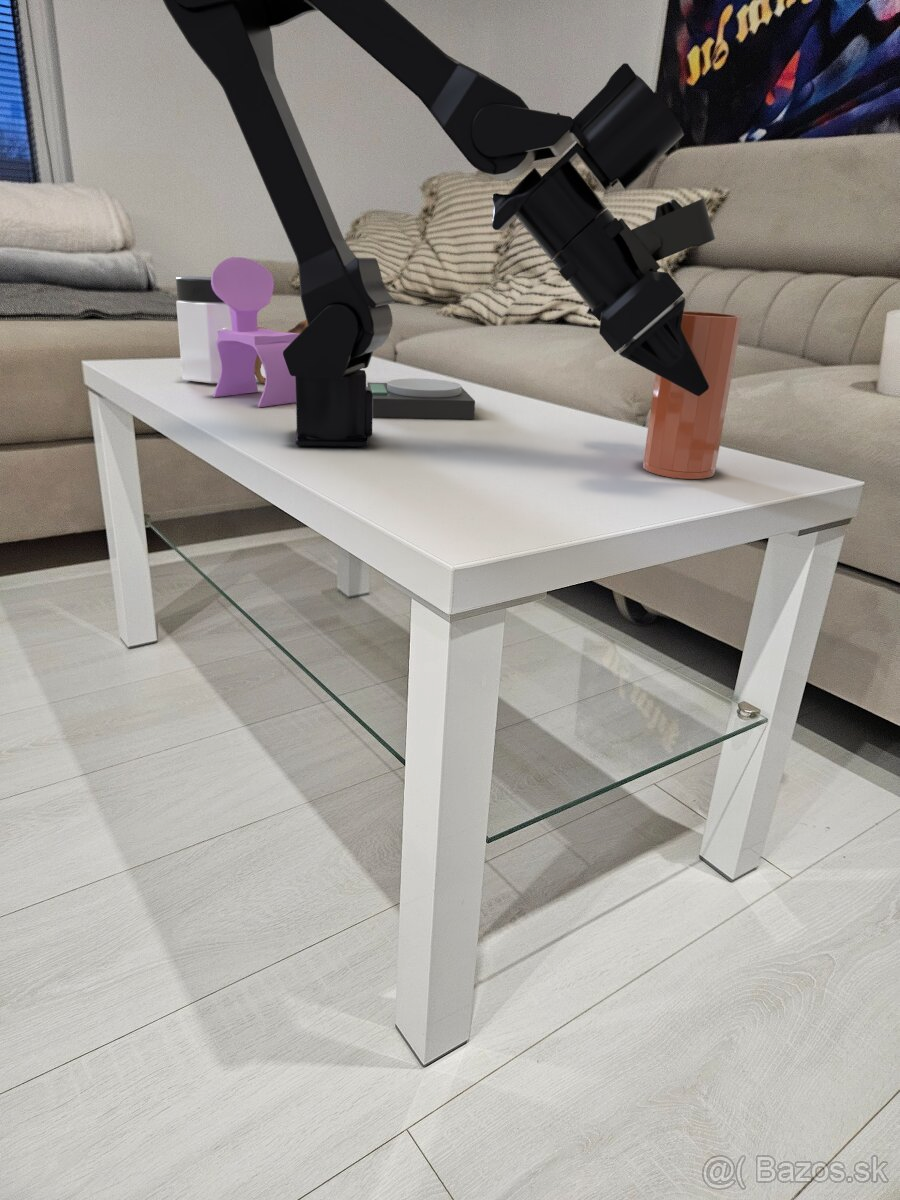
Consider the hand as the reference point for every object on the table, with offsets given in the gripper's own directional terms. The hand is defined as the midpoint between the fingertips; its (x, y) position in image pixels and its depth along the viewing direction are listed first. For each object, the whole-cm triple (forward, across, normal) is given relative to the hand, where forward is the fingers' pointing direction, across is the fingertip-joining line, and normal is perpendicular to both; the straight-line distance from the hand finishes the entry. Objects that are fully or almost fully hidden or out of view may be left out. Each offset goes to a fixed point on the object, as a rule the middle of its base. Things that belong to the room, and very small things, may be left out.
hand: (698, 383), depth 69 cm
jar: (-35, +29, +45) cm, 64 cm away
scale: (-15, +20, +25) cm, 35 cm away
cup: (+5, 0, +6) cm, 8 cm away
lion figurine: (-29, +32, +39) cm, 58 cm away
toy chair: (-28, +18, +38) cm, 50 cm away
